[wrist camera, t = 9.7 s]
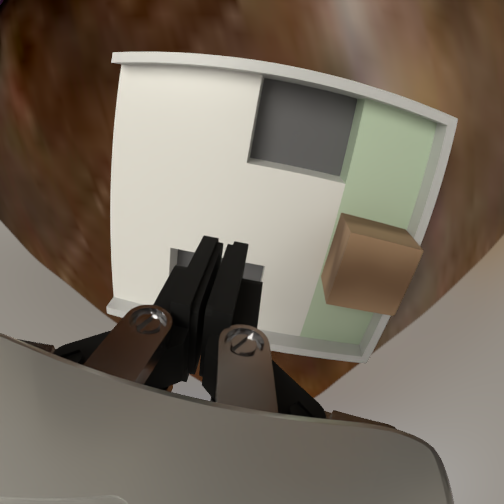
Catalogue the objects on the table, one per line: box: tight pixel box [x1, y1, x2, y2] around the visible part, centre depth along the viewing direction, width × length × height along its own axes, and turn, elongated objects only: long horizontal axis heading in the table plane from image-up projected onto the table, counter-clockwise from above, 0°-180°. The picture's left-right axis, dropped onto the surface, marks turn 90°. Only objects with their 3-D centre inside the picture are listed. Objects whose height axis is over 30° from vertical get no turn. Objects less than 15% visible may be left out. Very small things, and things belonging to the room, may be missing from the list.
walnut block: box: [321, 213, 423, 316], centre depth 20 cm, size 5×5×4 cm
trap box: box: [107, 52, 458, 363], centre depth 22 cm, size 20×22×4 cm
